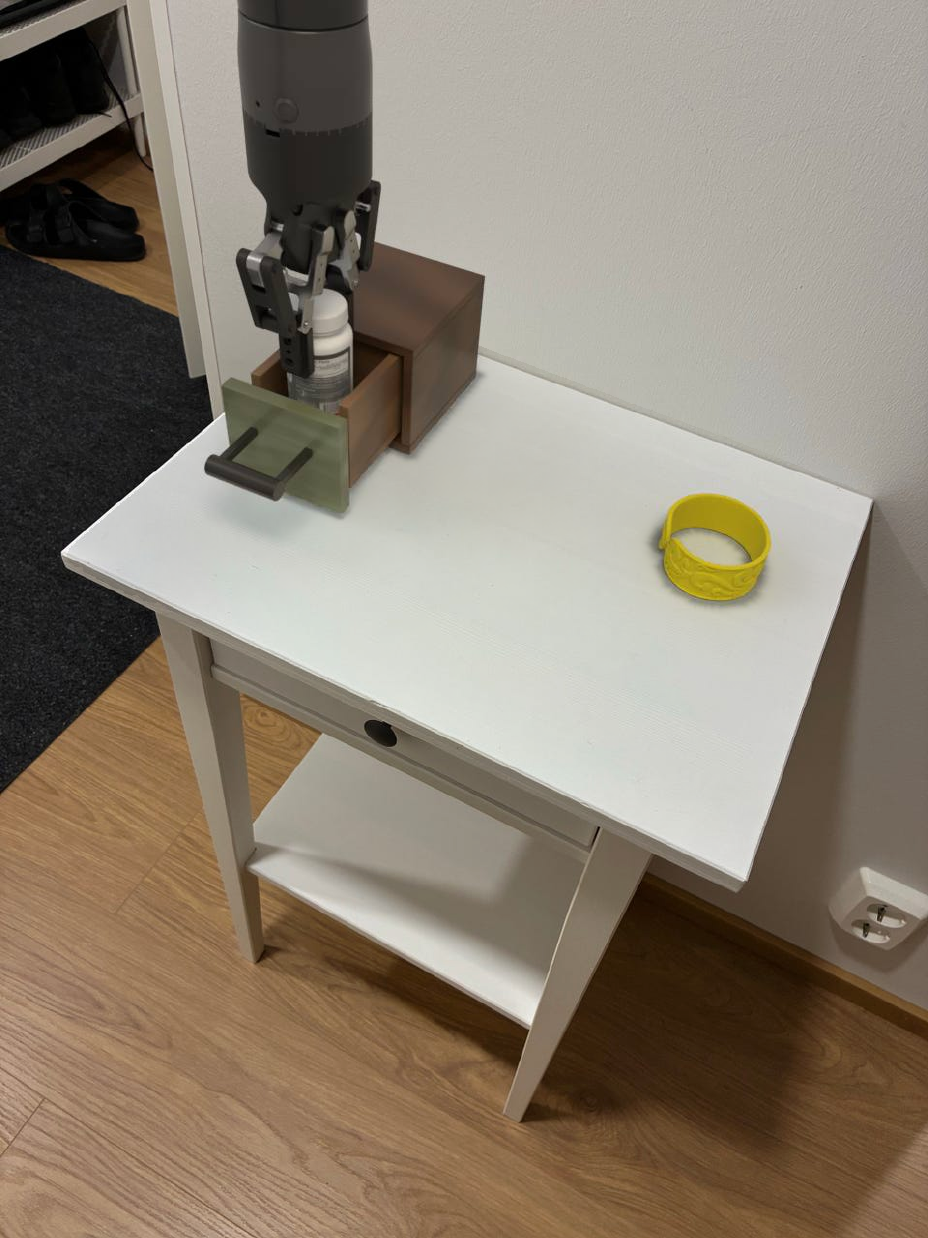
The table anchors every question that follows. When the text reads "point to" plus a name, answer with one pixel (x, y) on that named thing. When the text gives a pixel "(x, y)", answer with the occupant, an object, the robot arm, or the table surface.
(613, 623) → the table surface
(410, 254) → the cabinet
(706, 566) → the bracelet
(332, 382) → the pill bottle
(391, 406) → the drawer
